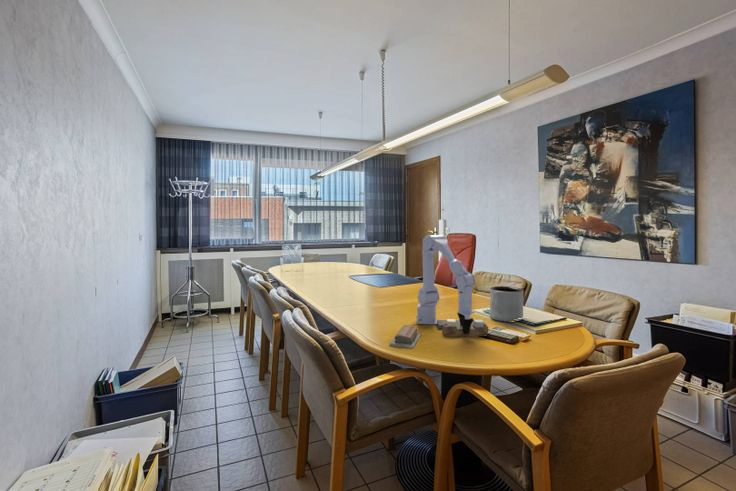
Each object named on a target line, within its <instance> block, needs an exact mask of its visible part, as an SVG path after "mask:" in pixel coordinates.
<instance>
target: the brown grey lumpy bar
mask: <svg viewBox="0 0 736 491" xmlns="http://www.w3.org/2000/svg"><path fill="white" fill-rule="evenodd" d="M485 333H488V334H489V326H488V325H487V323H486V322H484V327H475V326H474V324H473V326H471V327H470V331H469V334H464V333H463V327H462V325H456V327H447V323H444V322H443V329H442V334H443V336H444V337H475V338H476V337H479V336H482V335H483V334H485ZM479 338H480V337H479Z"/></svg>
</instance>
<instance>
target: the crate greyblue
mask: <svg viewBox="0 0 736 491" xmlns="http://www.w3.org/2000/svg"><path fill="white" fill-rule="evenodd" d="M473 320H474V326H475V327H484V323H485V321H484V320H483V319H473ZM482 320H483V321H484V322H483V321H482Z"/></svg>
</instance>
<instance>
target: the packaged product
mask: <svg viewBox="0 0 736 491" xmlns="http://www.w3.org/2000/svg"><path fill="white" fill-rule="evenodd" d="M421 336H422V333H420V332H419V333H418V326H415V325H410V324H409V325H407V324H406V325H405V324H404V325H402V327H401V328H400V329H399V331H398V332H397V333H396V334H395V336H394V337H393V338H392V339H391V341H390V342H389V347H390V346H391V347H399V348H409V349H414V347H415V346H416V344H417V342H418V341H419V339H420V338H421Z"/></svg>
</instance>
